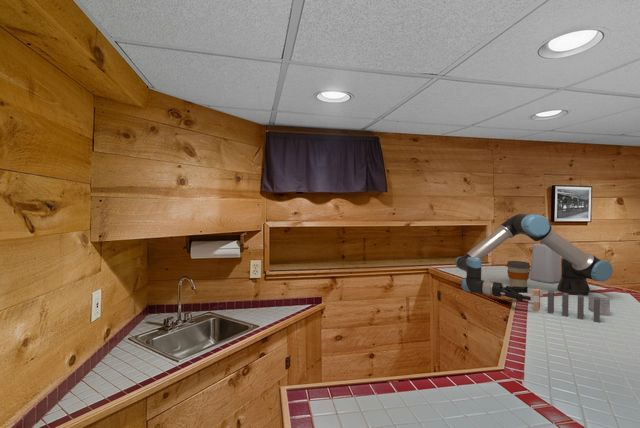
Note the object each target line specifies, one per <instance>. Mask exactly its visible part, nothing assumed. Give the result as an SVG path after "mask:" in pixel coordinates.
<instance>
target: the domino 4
mask: <svg viewBox="0 0 640 428" xmlns="http://www.w3.org/2000/svg"><path fill="white" fill-rule="evenodd" d="M600 317H601V315H600V298H598V297H594V312H593V322H594V323H599V324H600V322H601V320H600V319H601V318H600Z"/></svg>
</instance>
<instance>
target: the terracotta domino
mask: <svg viewBox="0 0 640 428" xmlns="http://www.w3.org/2000/svg"><path fill="white" fill-rule="evenodd" d="M534 289H535V290H534V295H533V296H539V302H533V311H534V312H540V309H541V296H540V290H541V289H540V288H534Z"/></svg>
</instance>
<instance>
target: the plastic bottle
mask: <svg viewBox="0 0 640 428" xmlns="http://www.w3.org/2000/svg"><path fill="white" fill-rule="evenodd" d="M531 251H532V252H531V260H530V269H529V272H530V273H529V279H530V280H532V281H535V282H540V283H545V284H555V283H556V284H557V283H559V282H560V279H561V256H560V255H559V254H557V253H556V252H554V251H553V250H552V249H550V248H549V247H547V246H546V245H545V244H543V243H542V242H540V241H539V243H533V245H532V250H531Z"/></svg>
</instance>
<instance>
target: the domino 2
mask: <svg viewBox="0 0 640 428" xmlns="http://www.w3.org/2000/svg"><path fill="white" fill-rule="evenodd" d="M569 294H570V293H565V292H562V295H561V297H562V299H561V302H562V303H561V315H562V317H566V318H567V317H569V299H570V298H569Z"/></svg>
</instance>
